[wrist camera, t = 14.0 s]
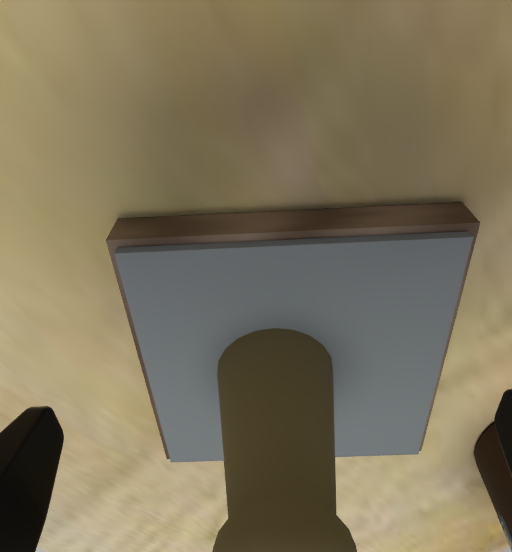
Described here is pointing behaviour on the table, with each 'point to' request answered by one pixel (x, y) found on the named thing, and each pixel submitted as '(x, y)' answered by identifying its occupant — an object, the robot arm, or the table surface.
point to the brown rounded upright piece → (279, 445)
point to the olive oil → (496, 477)
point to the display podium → (297, 311)
